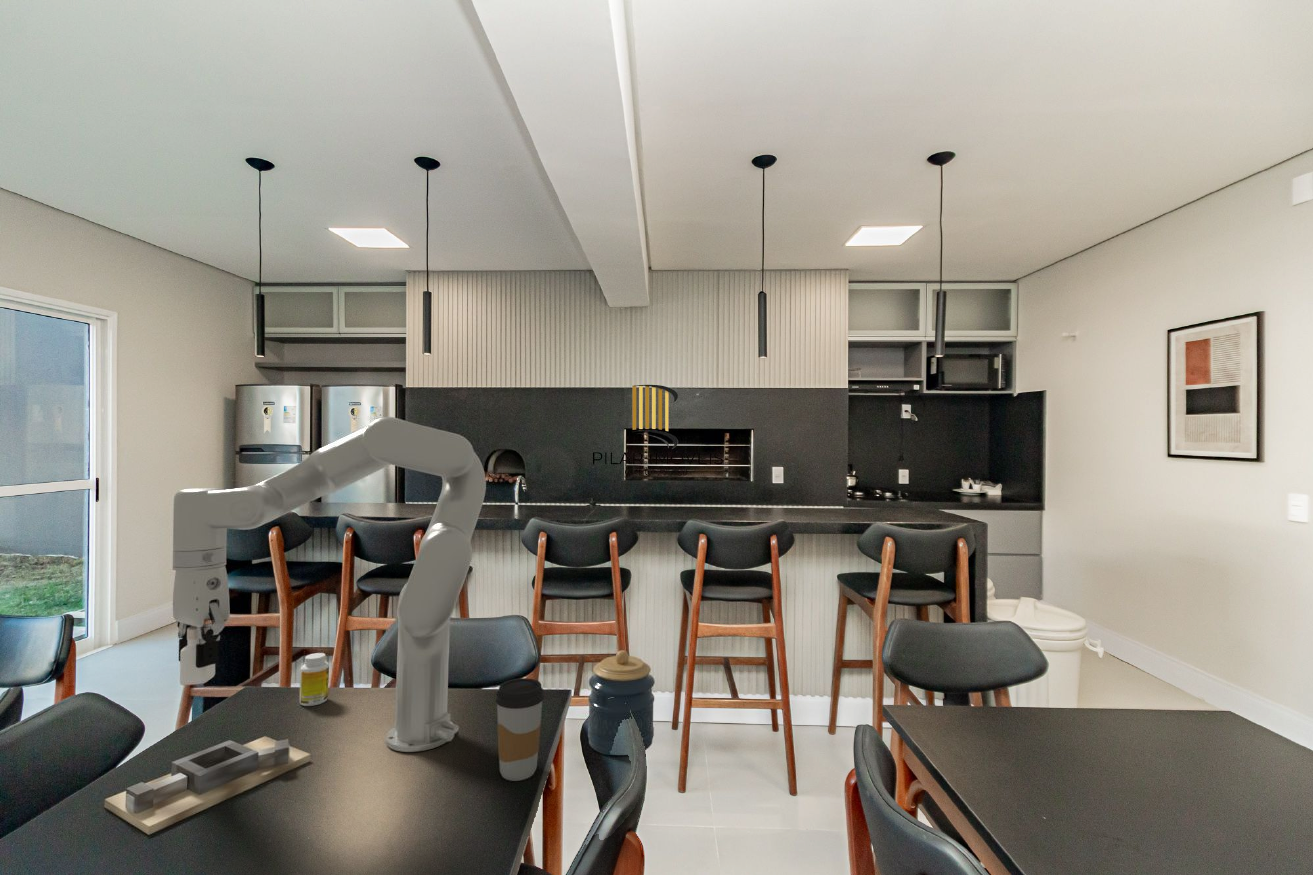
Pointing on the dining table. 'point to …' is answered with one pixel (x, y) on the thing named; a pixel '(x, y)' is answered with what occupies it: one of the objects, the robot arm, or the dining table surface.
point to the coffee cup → (519, 727)
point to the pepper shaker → (193, 662)
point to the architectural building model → (204, 781)
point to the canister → (620, 700)
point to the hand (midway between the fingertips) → (198, 661)
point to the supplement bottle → (314, 680)
